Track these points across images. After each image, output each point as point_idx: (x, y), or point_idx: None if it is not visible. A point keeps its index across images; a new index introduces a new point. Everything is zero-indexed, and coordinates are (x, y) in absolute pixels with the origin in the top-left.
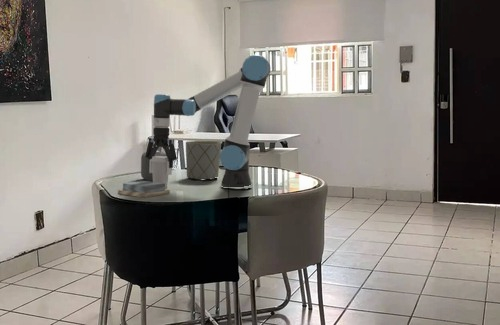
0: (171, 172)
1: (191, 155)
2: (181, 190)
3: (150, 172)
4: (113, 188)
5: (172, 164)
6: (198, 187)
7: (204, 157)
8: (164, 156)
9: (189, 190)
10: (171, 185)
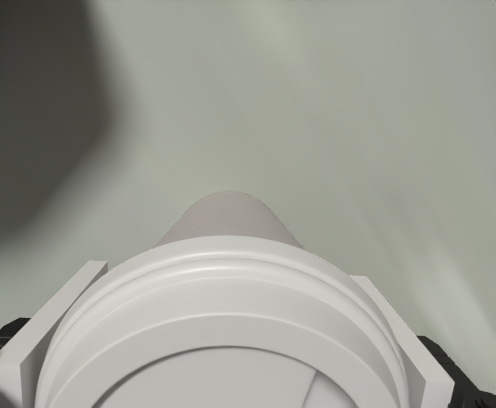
0: (373, 292)
1: None
2: (428, 243)
3: None
4: None
5: (455, 379)
6: (475, 6)
7: None
8: (213, 344)
9: (479, 204)
10: (218, 67)
